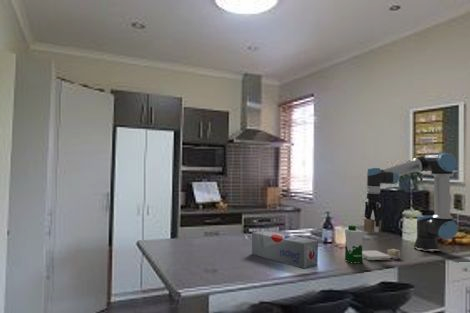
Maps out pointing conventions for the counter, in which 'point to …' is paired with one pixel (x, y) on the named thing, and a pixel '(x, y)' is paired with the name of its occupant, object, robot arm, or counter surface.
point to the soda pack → (285, 248)
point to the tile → (374, 255)
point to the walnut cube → (370, 225)
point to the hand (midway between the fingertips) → (372, 230)
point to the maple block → (393, 253)
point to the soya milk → (353, 244)
